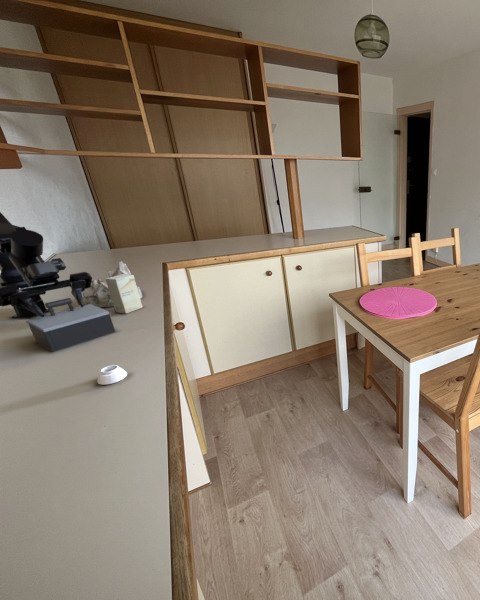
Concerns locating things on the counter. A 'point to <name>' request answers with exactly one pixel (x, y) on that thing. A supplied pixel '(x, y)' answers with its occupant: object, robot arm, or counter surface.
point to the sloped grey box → (73, 333)
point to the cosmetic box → (124, 293)
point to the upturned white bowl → (111, 375)
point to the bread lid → (65, 315)
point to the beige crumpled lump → (104, 289)
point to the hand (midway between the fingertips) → (63, 311)
